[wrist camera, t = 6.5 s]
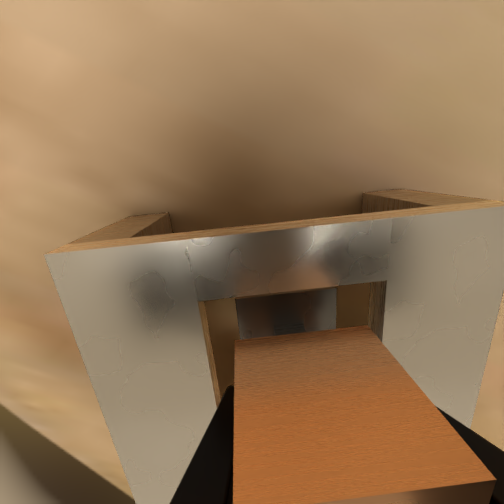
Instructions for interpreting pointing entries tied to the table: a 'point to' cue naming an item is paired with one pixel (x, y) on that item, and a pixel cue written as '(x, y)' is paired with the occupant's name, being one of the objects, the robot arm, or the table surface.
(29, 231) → the table surface
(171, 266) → the keyhole stand
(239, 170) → the table surface
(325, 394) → the peg
